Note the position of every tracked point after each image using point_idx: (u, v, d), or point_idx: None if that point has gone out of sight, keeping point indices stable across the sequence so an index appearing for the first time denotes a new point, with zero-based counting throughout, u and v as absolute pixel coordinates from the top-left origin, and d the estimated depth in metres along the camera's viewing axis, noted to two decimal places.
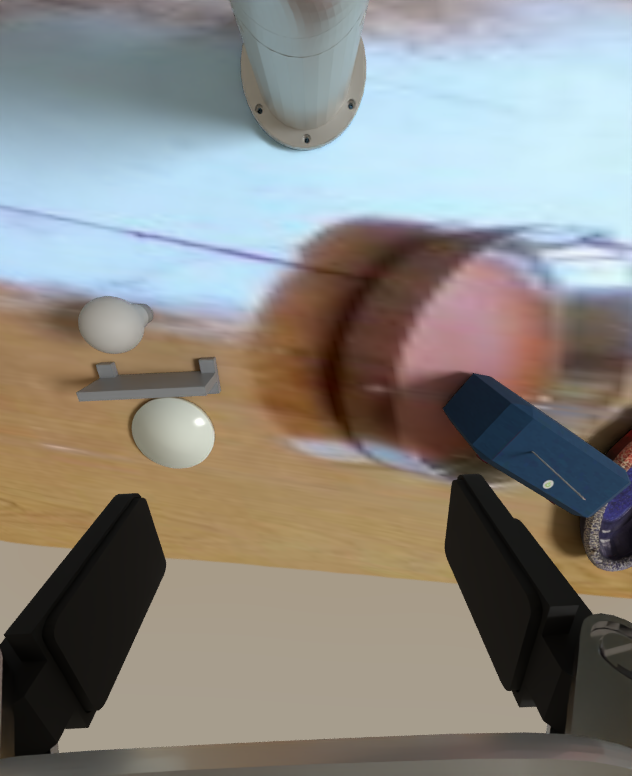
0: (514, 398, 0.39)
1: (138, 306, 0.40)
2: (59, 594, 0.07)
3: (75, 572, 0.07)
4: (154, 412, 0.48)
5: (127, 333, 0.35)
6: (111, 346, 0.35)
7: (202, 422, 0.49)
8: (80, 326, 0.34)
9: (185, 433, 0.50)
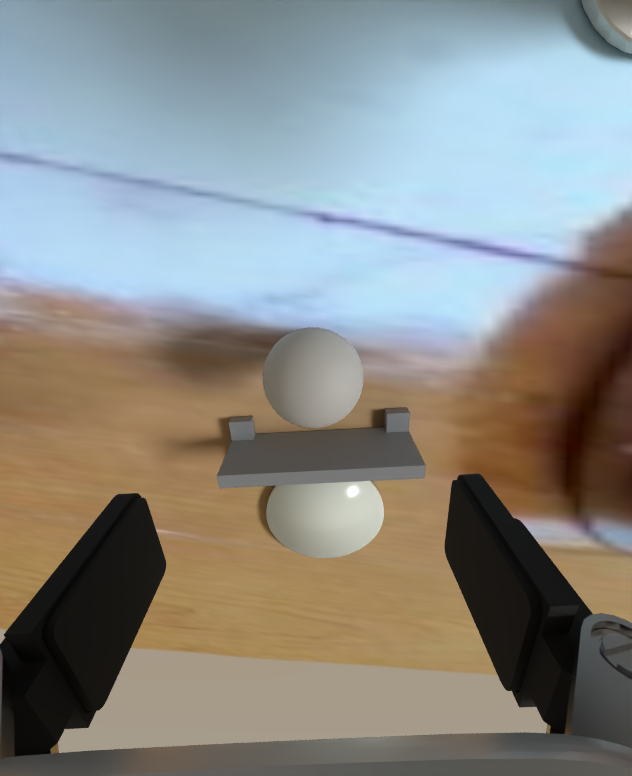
0: None
1: None
2: (59, 595, 0.07)
3: (75, 572, 0.07)
4: (303, 486, 0.33)
5: (355, 396, 0.19)
6: (327, 421, 0.19)
7: (371, 499, 0.33)
8: (278, 387, 0.18)
9: (343, 513, 0.34)
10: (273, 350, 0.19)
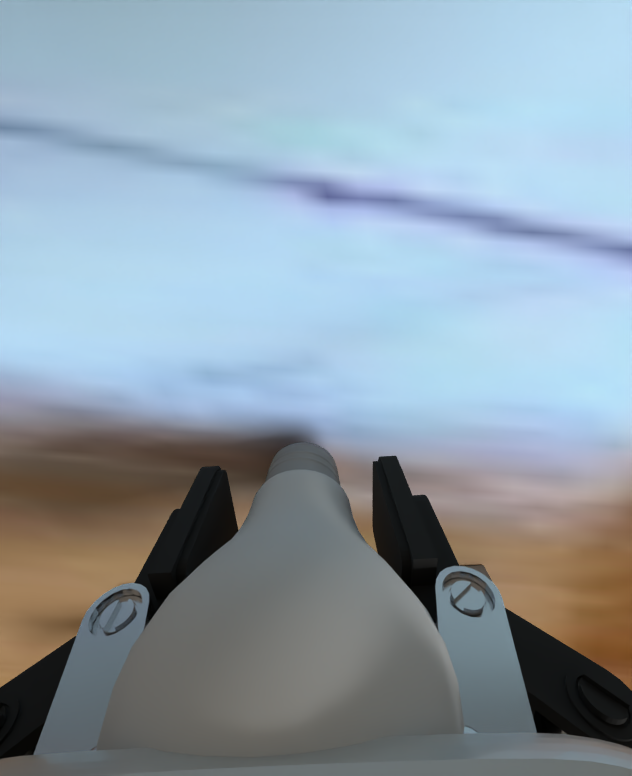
0: None
1: (330, 488, 0.10)
2: (183, 544, 0.08)
3: (190, 527, 0.08)
4: None
5: None
6: None
7: None
8: None
9: None
10: (122, 696, 0.05)
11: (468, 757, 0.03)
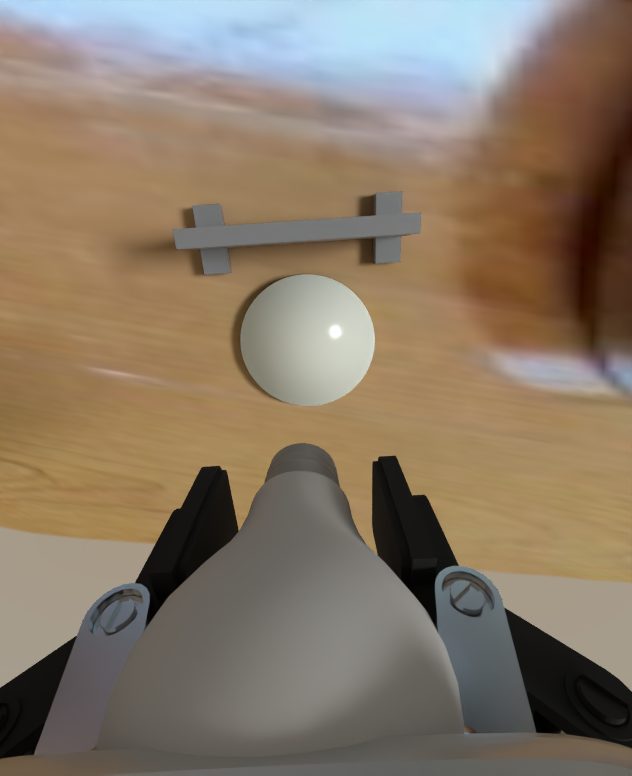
0: None
1: (329, 489, 0.10)
2: (183, 544, 0.08)
3: (190, 527, 0.08)
4: (282, 302, 0.28)
5: None
6: None
7: (360, 321, 0.29)
8: None
9: (328, 341, 0.30)
10: (120, 701, 0.05)
11: (468, 757, 0.03)
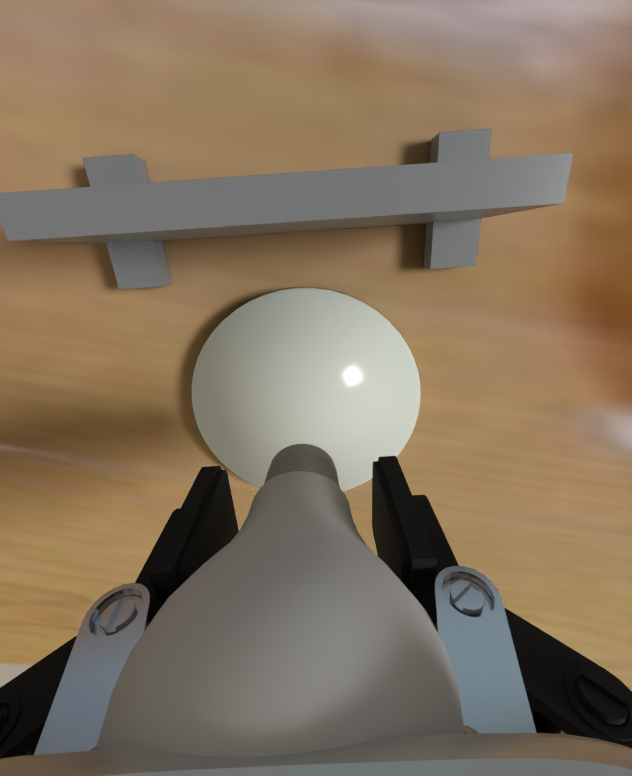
0: None
1: (329, 489, 0.10)
2: (183, 544, 0.08)
3: (190, 527, 0.08)
4: (262, 336, 0.16)
5: None
6: None
7: (397, 367, 0.17)
8: None
9: (341, 400, 0.17)
10: (120, 702, 0.05)
11: (468, 757, 0.03)
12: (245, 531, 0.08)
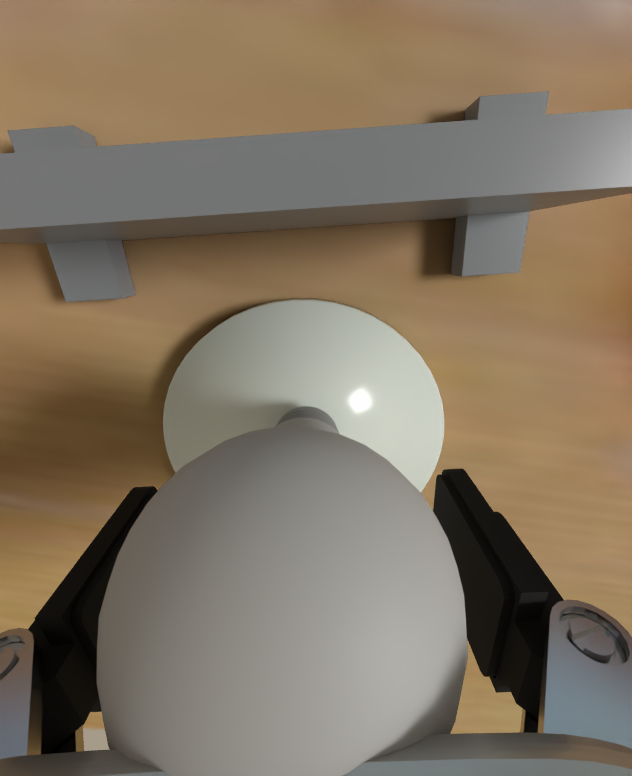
0: None
1: (331, 431, 0.10)
2: (84, 582, 0.07)
3: (99, 560, 0.07)
4: (249, 359, 0.13)
5: None
6: None
7: (416, 397, 0.14)
8: (112, 727, 0.04)
9: (347, 436, 0.14)
10: (141, 518, 0.05)
11: (468, 757, 0.03)
12: None
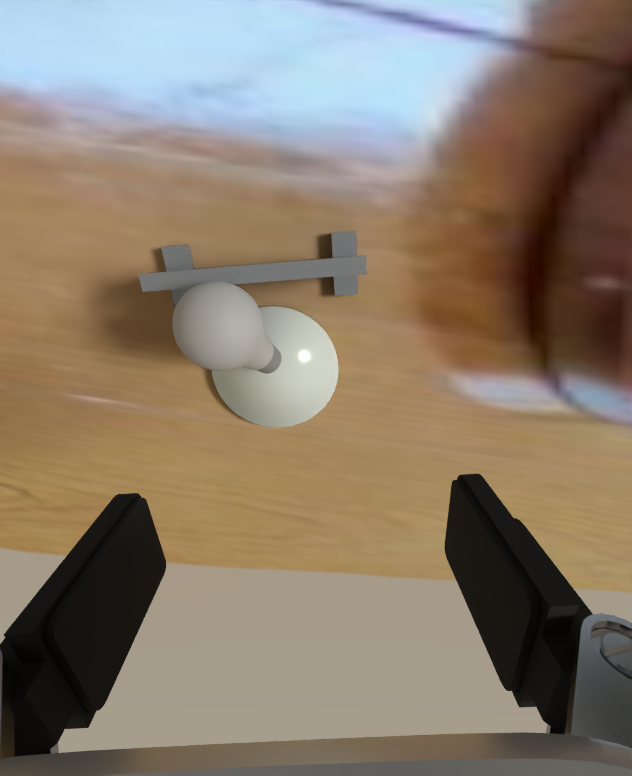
0: None
1: (265, 334, 0.27)
2: (59, 595, 0.07)
3: (75, 572, 0.07)
4: None
5: (232, 319, 0.21)
6: (201, 335, 0.20)
7: (323, 348, 0.31)
8: (175, 307, 0.22)
9: (294, 367, 0.32)
10: None
11: (468, 757, 0.03)
12: None
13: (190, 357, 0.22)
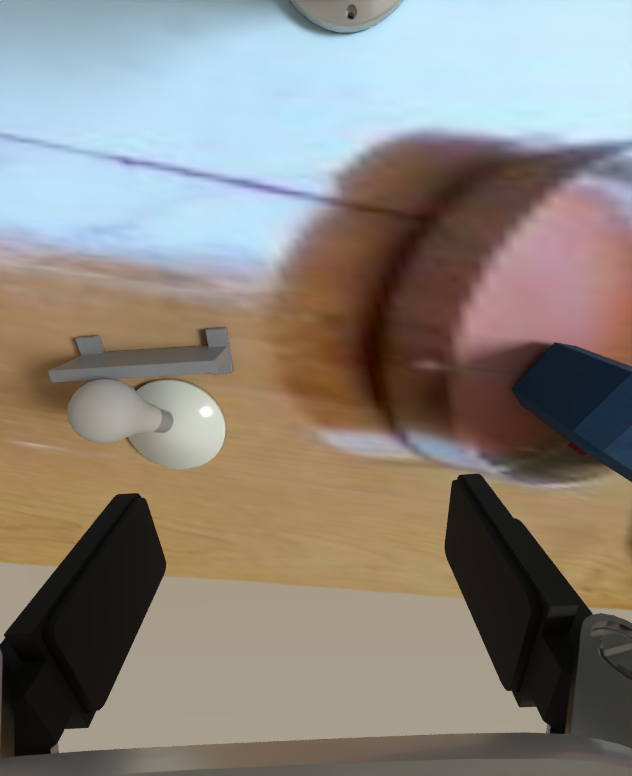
0: (629, 368, 0.29)
1: (154, 406, 0.36)
2: (59, 595, 0.07)
3: (75, 572, 0.07)
4: (150, 399, 0.39)
5: (106, 414, 0.29)
6: (83, 425, 0.29)
7: (210, 411, 0.39)
8: (70, 400, 0.30)
9: (189, 424, 0.40)
10: None
11: (468, 757, 0.03)
12: None
13: (81, 436, 0.30)
